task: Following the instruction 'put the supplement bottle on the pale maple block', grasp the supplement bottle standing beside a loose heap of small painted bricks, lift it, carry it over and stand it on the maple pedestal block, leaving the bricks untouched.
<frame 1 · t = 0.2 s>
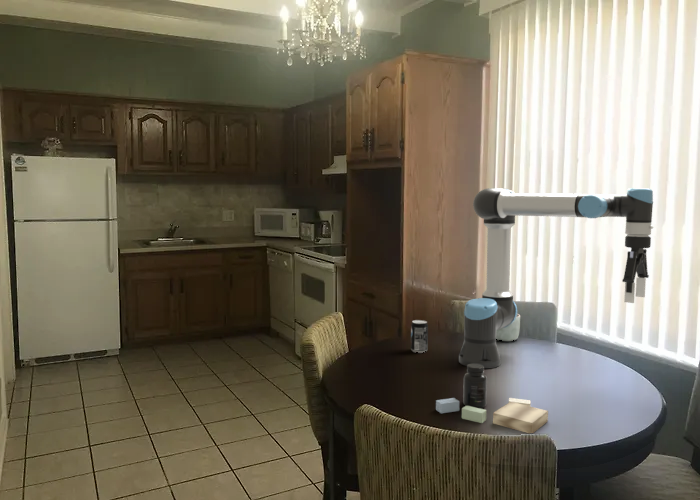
hand: (634, 299, 189), 28 cm above the table, fingers open, 13 cm apart
maple block: (520, 422, 157), on the table
cream brick: (519, 410, 166), on the table
beverage can: (419, 351, 229), on the table
planter: (504, 339, 248), on the table
supplement bottle: (474, 405, 171), on the table
sage brick: (473, 419, 160), on the table
dusty blue brick: (447, 410, 166), on the table
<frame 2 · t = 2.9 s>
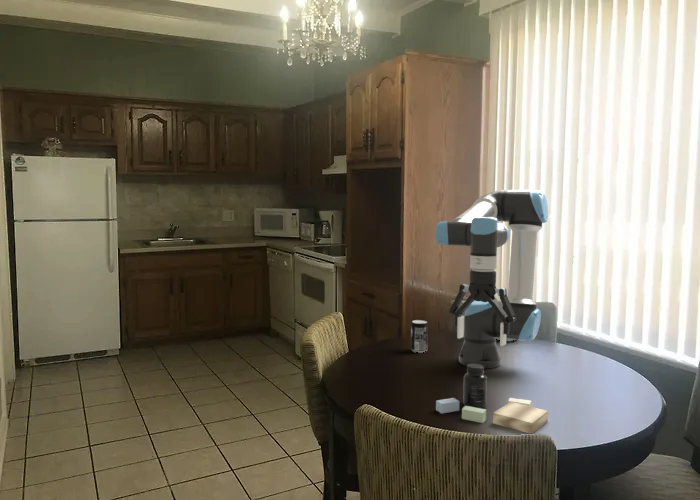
hand: (481, 341, 169), 19 cm above the table, fingers open, 13 cm apart
nothing on the table moved.
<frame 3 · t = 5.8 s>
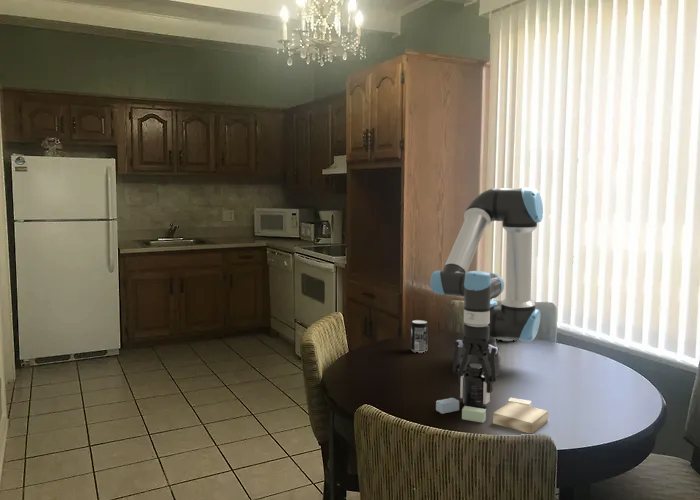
hand: (474, 399, 170), 2 cm above the table, fingers closed on supplement bottle, 7 cm apart
supplement bottle: (474, 405, 171), on the table, touching gripper
everything else where it was.
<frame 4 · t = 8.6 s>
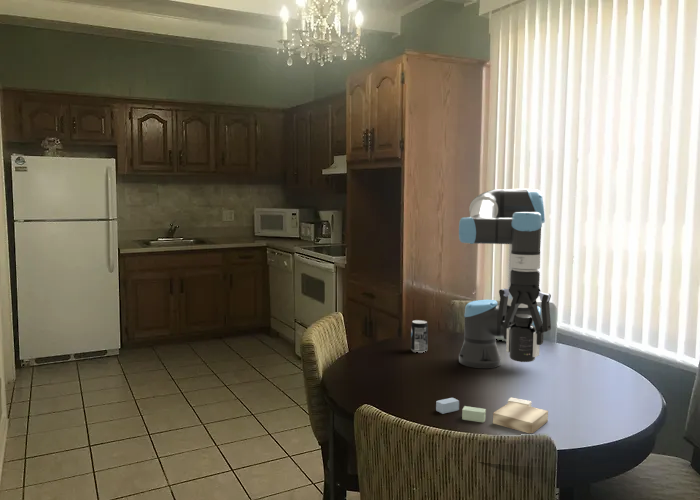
hand: (522, 353, 156), 19 cm above the table, fingers closed on supplement bottle, 7 cm apart
supplement bottle: (522, 359, 156), point 18 cm above the table, touching gripper
everything else where it was.
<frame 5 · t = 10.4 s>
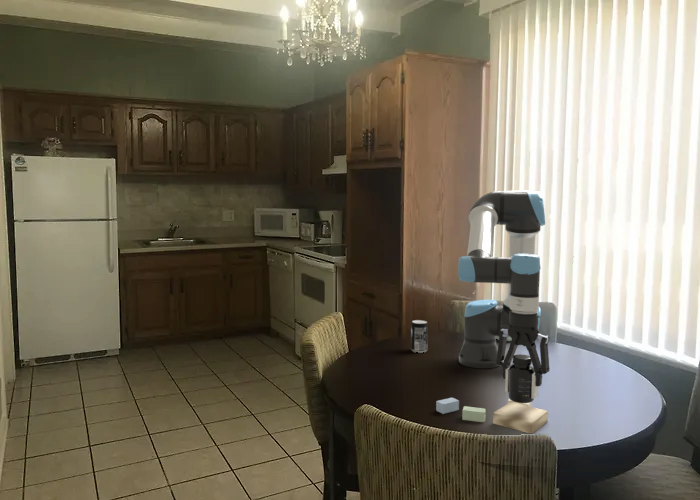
hand: (521, 393, 157), 8 cm above the table, fingers closed on supplement bottle, 7 cm apart
supplement bottle: (521, 400, 157), point 6 cm above the table, touching gripper
everything else where it was.
when the fingers open (5 cm above the table, at t = 11.8 s): supplement bottle stays where it is, resting on maple block.
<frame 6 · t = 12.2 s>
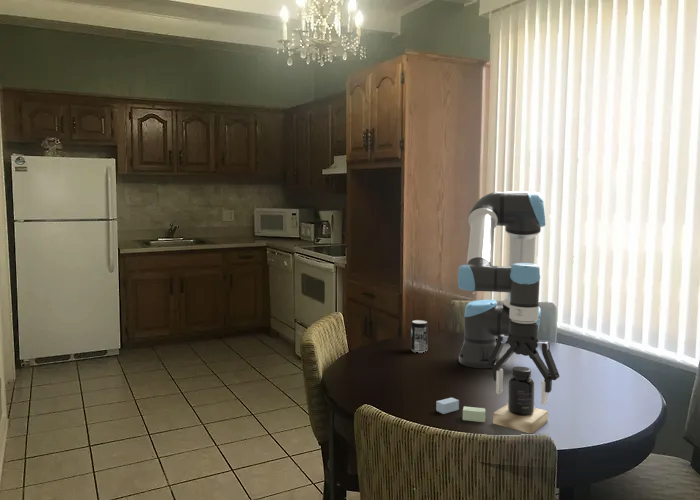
hand: (521, 397, 157), 7 cm above the table, fingers open, 12 cm apart
supplement bottle: (520, 412, 157), point 3 cm above the table, touching maple block
everything else where it was.
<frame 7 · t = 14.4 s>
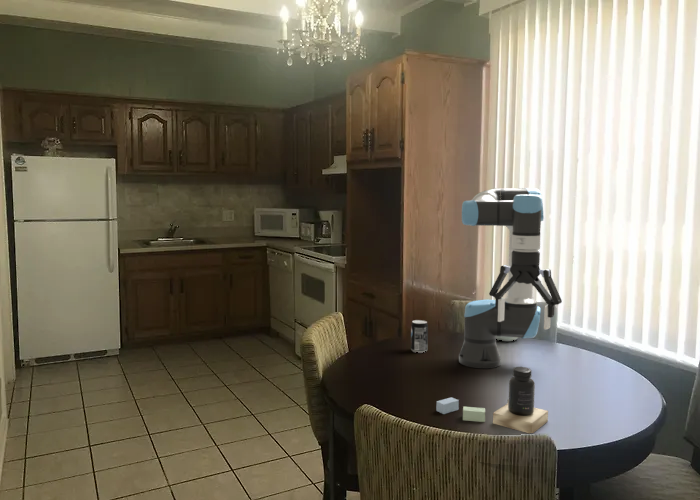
hand: (523, 324, 162), 26 cm above the table, fingers open, 13 cm apart
nothing on the table moved.
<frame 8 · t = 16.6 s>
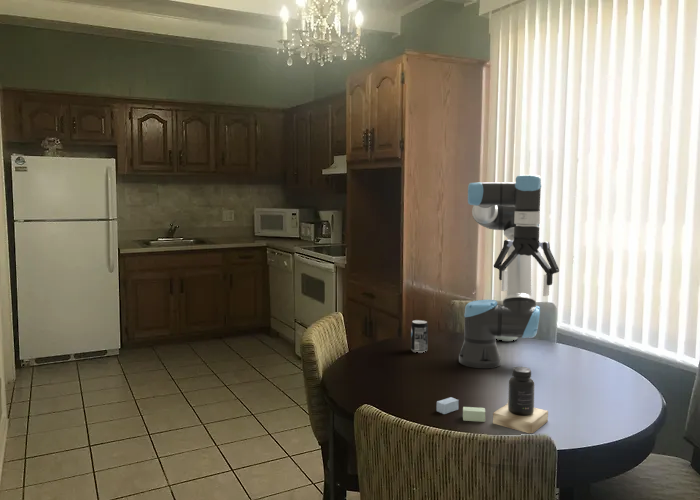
hand: (524, 293, 179), 32 cm above the table, fingers open, 13 cm apart
nothing on the table moved.
at the end: supplement bottle inside the target area on the maple block (0.0 cm from its centre), point 2.8 cm above the maple block's base; supplement bottle tilted 0°; cream brick moved 0.2 cm from its start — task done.
